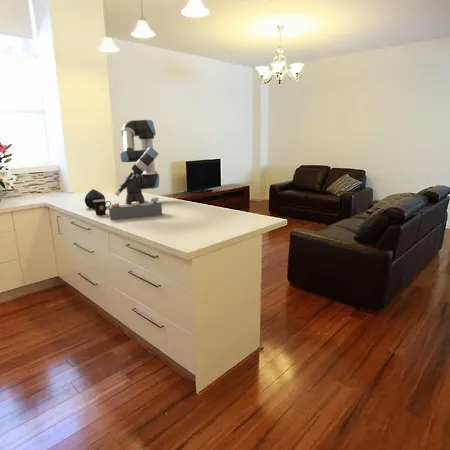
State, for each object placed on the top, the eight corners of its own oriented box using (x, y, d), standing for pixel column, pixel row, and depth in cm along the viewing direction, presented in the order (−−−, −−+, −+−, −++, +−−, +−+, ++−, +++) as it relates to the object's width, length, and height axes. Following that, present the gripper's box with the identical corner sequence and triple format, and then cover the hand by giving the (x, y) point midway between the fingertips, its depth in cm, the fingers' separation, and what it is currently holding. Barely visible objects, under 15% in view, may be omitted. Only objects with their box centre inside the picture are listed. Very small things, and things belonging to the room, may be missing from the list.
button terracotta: (119, 209, 230) (119, 202, 229) (119, 211, 225) (118, 204, 224) (112, 210, 229) (111, 203, 228) (112, 211, 224) (111, 204, 223)
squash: (96, 203, 253) (101, 186, 260) (78, 204, 257) (83, 187, 263) (106, 212, 266) (110, 195, 272) (89, 213, 269) (93, 196, 276)
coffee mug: (93, 216, 237) (91, 202, 235) (95, 213, 245) (93, 199, 243) (110, 214, 239) (109, 200, 237) (112, 212, 248) (110, 198, 245)
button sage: (158, 203, 235) (158, 197, 234) (159, 205, 231) (158, 198, 229) (151, 204, 234) (150, 197, 233) (151, 205, 230) (151, 199, 228)
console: (161, 213, 238) (160, 201, 236) (162, 215, 232) (161, 203, 230) (111, 217, 231) (109, 206, 229) (110, 220, 224) (108, 208, 222)
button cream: (139, 207, 233) (138, 201, 231) (139, 209, 228) (138, 202, 227) (132, 208, 232) (131, 201, 230) (132, 210, 227) (131, 203, 226)
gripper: (144, 172, 218) (120, 200, 219) (144, 170, 231) (121, 196, 232) (134, 164, 216) (110, 192, 217) (135, 163, 228) (112, 189, 229)
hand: (116, 194), depth 224 cm, fingers closed
